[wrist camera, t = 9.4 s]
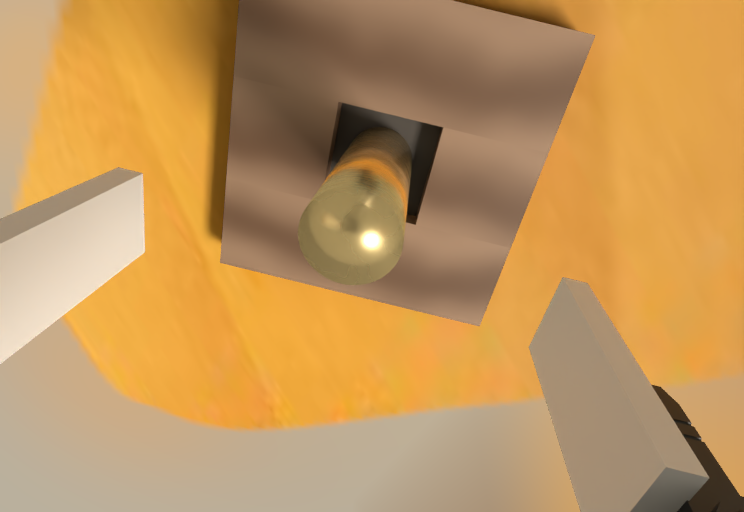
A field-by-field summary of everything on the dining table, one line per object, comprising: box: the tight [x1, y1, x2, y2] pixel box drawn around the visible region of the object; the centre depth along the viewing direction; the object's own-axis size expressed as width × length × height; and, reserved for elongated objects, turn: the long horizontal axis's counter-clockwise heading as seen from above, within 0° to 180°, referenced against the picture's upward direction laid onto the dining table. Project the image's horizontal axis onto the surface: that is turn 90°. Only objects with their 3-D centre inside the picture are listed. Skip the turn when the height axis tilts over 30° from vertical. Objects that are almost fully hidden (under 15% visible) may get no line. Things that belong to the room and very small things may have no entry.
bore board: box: [220, 0, 595, 326], centre depth 27 cm, size 18×18×2 cm
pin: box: [298, 127, 412, 285], centre depth 22 cm, size 4×4×12 cm
